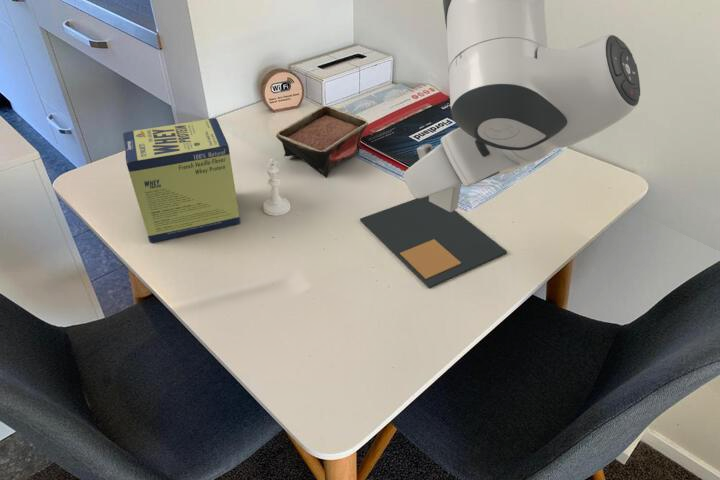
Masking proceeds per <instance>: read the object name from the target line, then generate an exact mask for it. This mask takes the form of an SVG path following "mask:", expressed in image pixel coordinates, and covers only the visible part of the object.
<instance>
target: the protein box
mask: <svg viewBox="0 0 720 480" xmlns="http://www.w3.org/2000/svg"><path fill="white" fill-rule="evenodd" d="M122 138H123V144H124V153H125V163H126V168H127V170H128V174H129V177H130V180H131V184H132V187H133V191H134V195H135V197H136V201H137V205H138V208H139V211H140V215H141V219H142V221H143V226H144V228H145V231H146V235H147V238H148V239H147V240H148V242H149V243H150V244H152V243H156V242H161V241H167V240H171V239H175V238H181V237H185V236H190V235H194V234H199V233H204V232H207V231H213V230H217V229H222V228H227V227H232V226H236V225H240V224H241V216H240V210H239V203H238V198H237V192H236V186H235V185H236V184H235V180H234V179H235V178H234V172H233V167H232V160H231V154H230V145H229V144H228V141H227V139H226V136H225V135H224V132H223V129H222V128H221V125H220V123H219V121H218V119H217V117H212V118H205V119H201V120H194V121H188V122H182V123H175V124H170V125H163V126H157V127H151V128H143V129H137V130H130V131H126V132H123V133H122Z"/></svg>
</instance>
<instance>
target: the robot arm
mask: <svg viewBox="0 0 720 480" xmlns="http://www.w3.org/2000/svg"><path fill="white" fill-rule="evenodd" d="M442 5H443V6H442V7H443V14H444V23H445V28H446V29H445V30H446V40H447V67H448V68H447V69H448V85H449V87H448V88H449V104H450V105H449V106H450V115H451V118H452V121H454V123H455V124H456V125H457V127H455V128H454V129H452V130H450V131H449V132H447V133H446V134H444V135H443V136H441V138H440V142H441V143H440V144H439V145H437V146H435V147H434V148H433V150H432V151H430V152H429V153H428V154H426V155H425V156H424V157H422V158H421V159H418V160H417V161H415V163H413V164H412V165H410V166H409V167H408V168H407V169H406V170H405V171H404V173H403V180H404V182H405V185H406V187H407V189H408V190H409V192H410V194H411V195H412V196H413V198H414V199H416V198H424V197H427V196H430V195H433V194H436V193H439V192H442V191H445V190H447V189H450V188H453V187H455V186H458V185H461V186H462V184H463V186H464V187H466V188H468V187H471V186H473V185H476V184H478V183H480V182H483V181H484V180H487V179H490V178H491V177H492V178H493V177H497V176H502V175H508V174H511V173H514V172H516V171H518V170H520V169H522V168H525V167H527V166H529V165H531V164H534V163H536V162H538V161H540V160H543V159H544V158H545V157H547V156H548V155H549V154H551V153H552V152H553V151H554V150H556V149H561V148H568V147H571V146H573V145H576V144H578V143H580V142H582V141H585V140H587V139H589V138H592V137H593V136H595V135H597V134H599V133H600V132H602V131H604V130H606V129H608V128H610V127H611V126H613V125H615V124H616V123H618V122H619V121H621V120H622V119H624V118H625V117H627V116H628V115H630V113H632V112H633V111H634V110H635V109H636V108H637V106H638V104H639V101H640V96H641V84H640V82H641V81H640V75H639V71H638V66H637V63H636V61H635V58H634V57H633V53H632V52H631V49H630V48H629V47H628V46H627V43H625V42H624V41H623V40H622V39H620V38H619V37H618V36H616V35H615V34H607V35H602V36H600V37H597V38H595V39H593V40H591V41H589V42H586V43H584V44H582V45H579V46H578V47H576V48H570V49H556V48H550V47H548V37H547V36H548V35H547V26H546V13H545V0H442Z"/></svg>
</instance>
